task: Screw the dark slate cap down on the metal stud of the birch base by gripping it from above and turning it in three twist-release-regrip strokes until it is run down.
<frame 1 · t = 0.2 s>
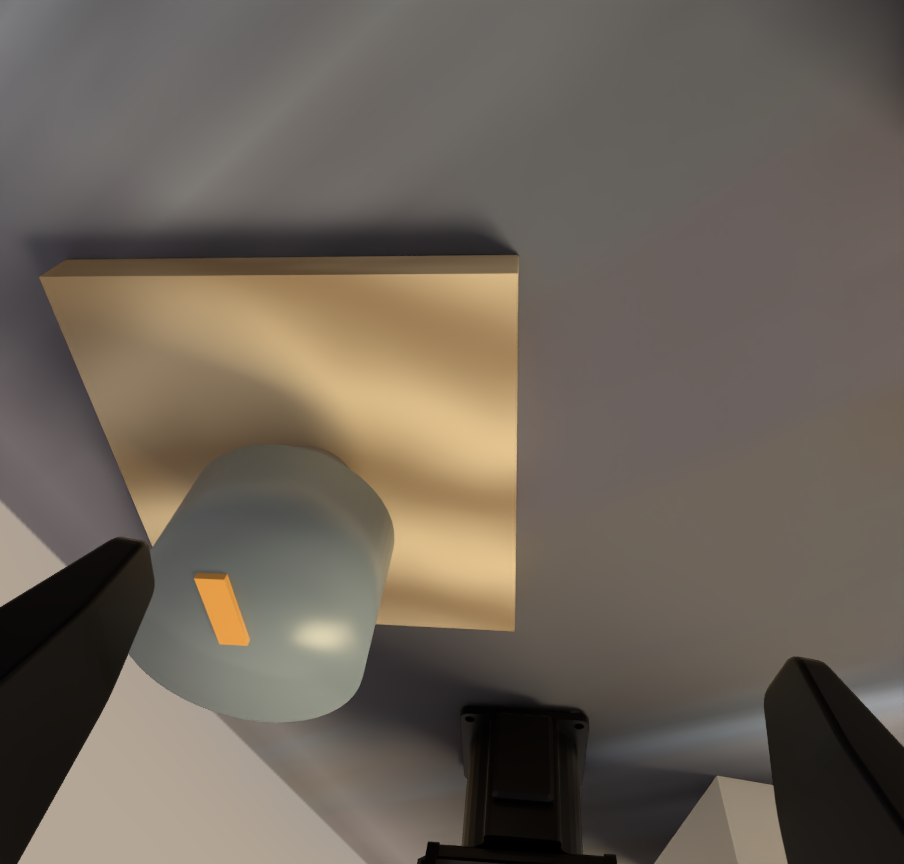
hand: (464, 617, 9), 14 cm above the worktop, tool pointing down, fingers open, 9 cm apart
cap: (268, 585, 21), point 7 cm above the worktop, hinge at 0.0°
milk: (775, 839, 40), on the worktop
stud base: (323, 456, 26), on the worktop
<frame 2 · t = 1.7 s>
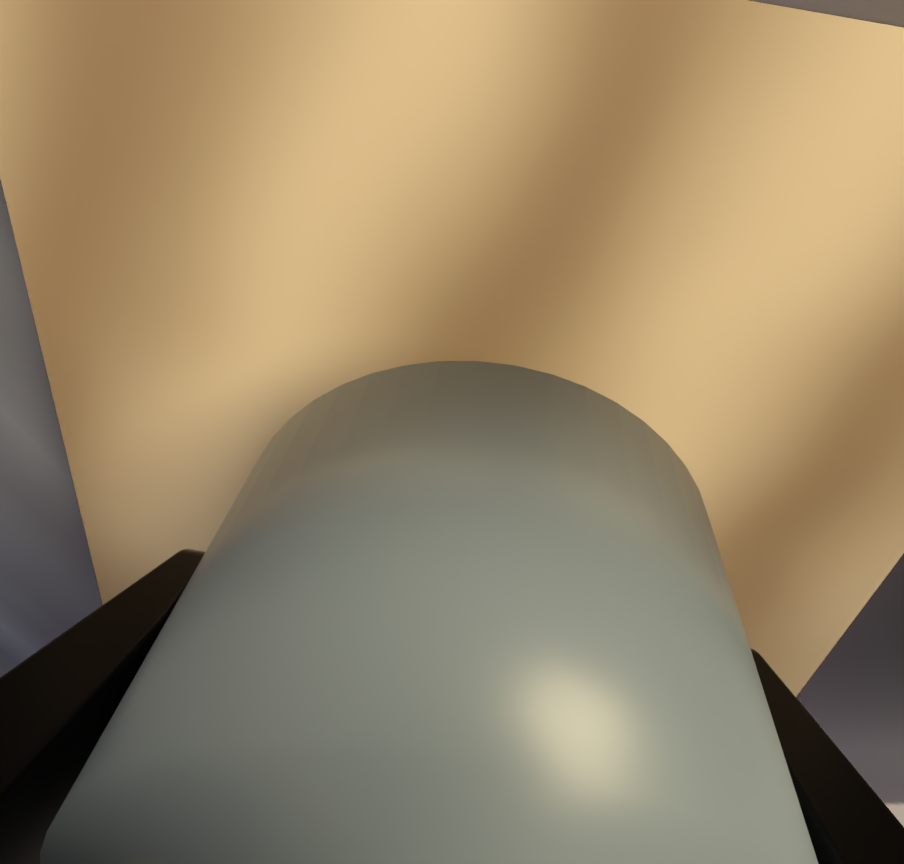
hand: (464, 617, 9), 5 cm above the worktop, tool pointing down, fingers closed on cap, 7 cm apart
cap: (452, 720, 8), point 7 cm above the worktop, hinge at 0.1°, touching gripper
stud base: (486, 419, 13), on the worktop
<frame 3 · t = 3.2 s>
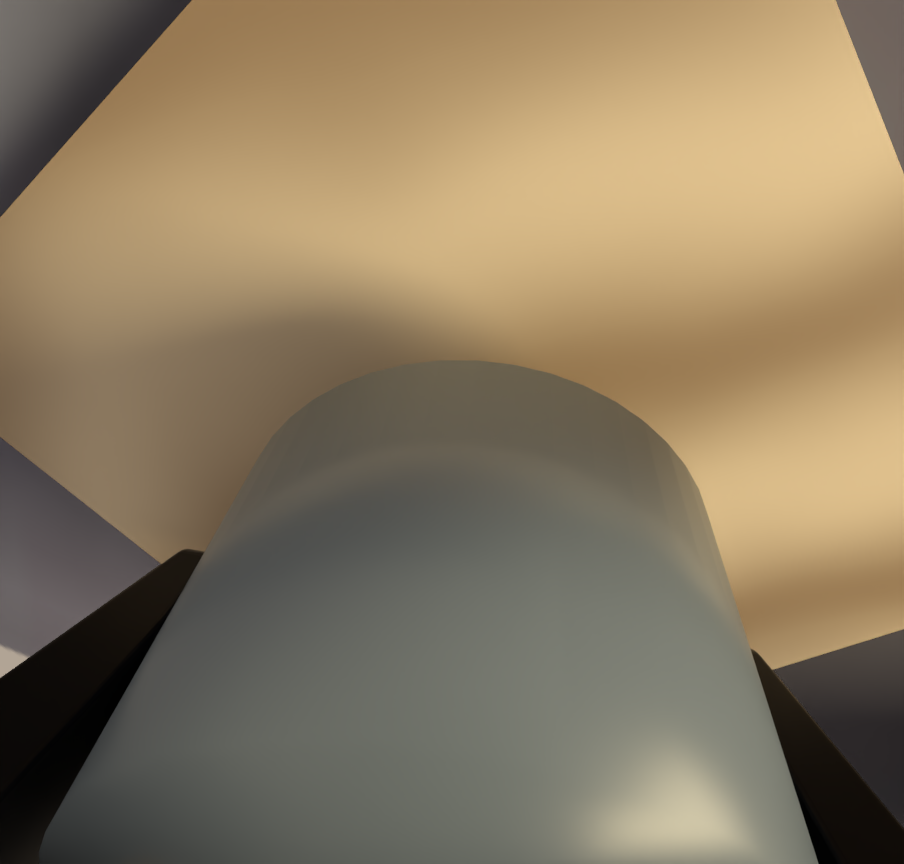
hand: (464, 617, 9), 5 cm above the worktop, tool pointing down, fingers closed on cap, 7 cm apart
cap: (452, 720, 8), point 7 cm above the worktop, hinge at 44.6°, touching gripper
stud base: (485, 419, 13), on the worktop
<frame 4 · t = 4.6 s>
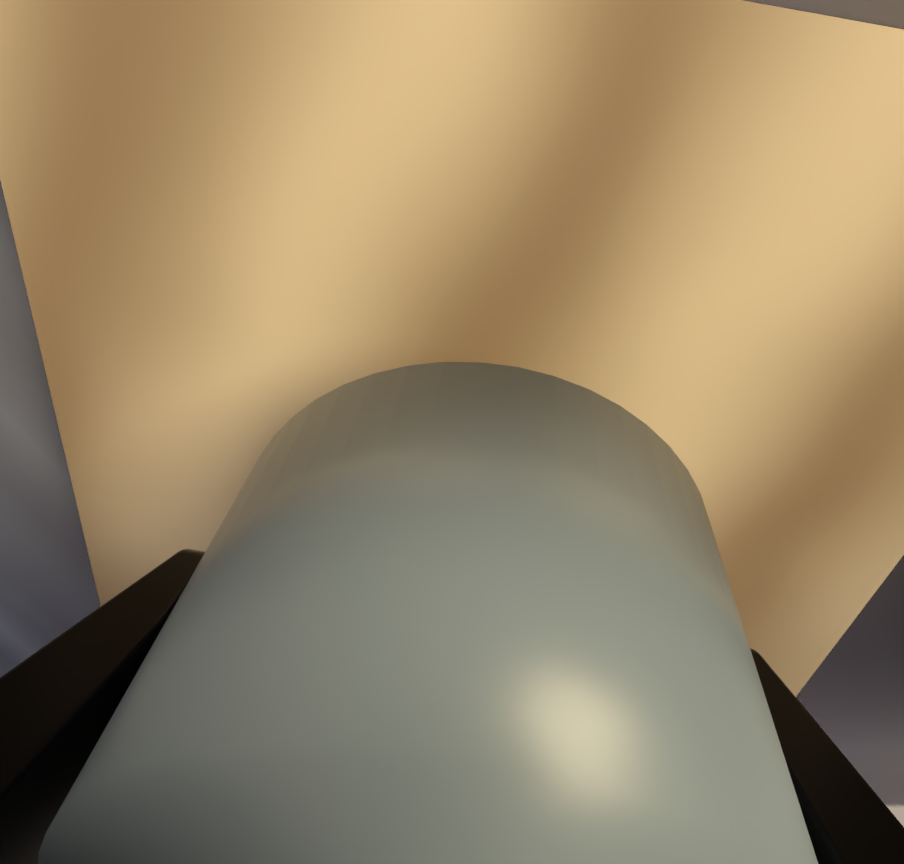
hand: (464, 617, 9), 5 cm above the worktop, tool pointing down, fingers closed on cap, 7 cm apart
cap: (452, 722, 8), point 7 cm above the worktop, hinge at 44.5°, touching gripper
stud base: (485, 420, 13), on the worktop
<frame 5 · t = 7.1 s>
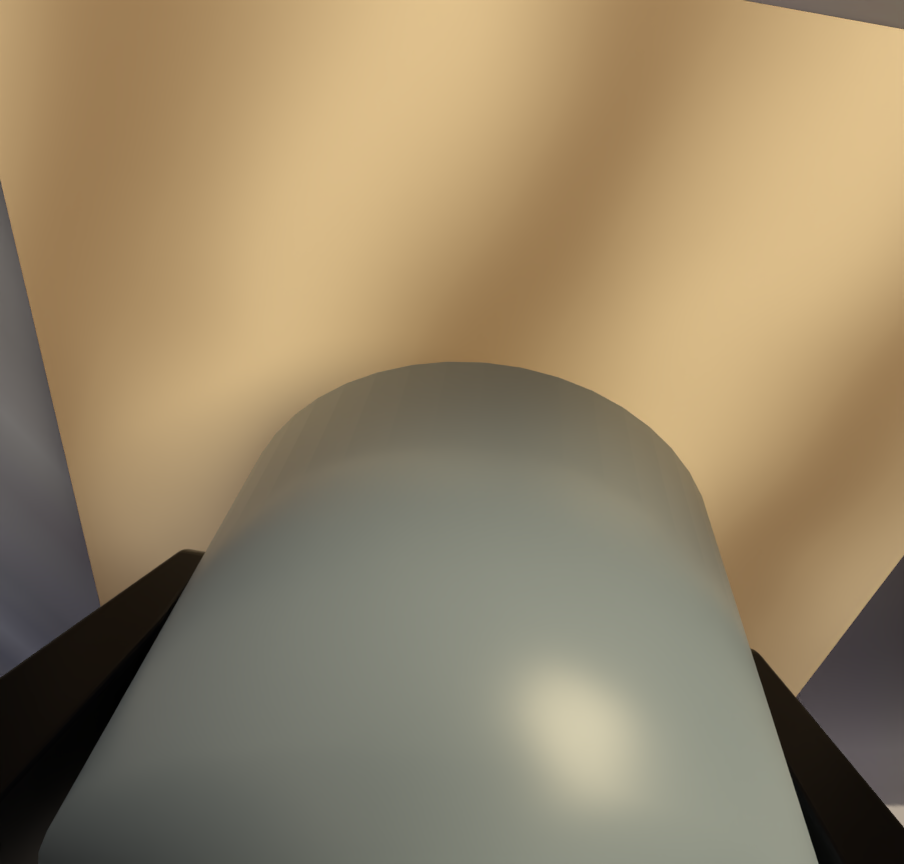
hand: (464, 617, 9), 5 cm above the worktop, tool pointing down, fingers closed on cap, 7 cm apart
cap: (452, 722, 8), point 7 cm above the worktop, hinge at 88.8°, touching gripper
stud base: (485, 420, 13), on the worktop
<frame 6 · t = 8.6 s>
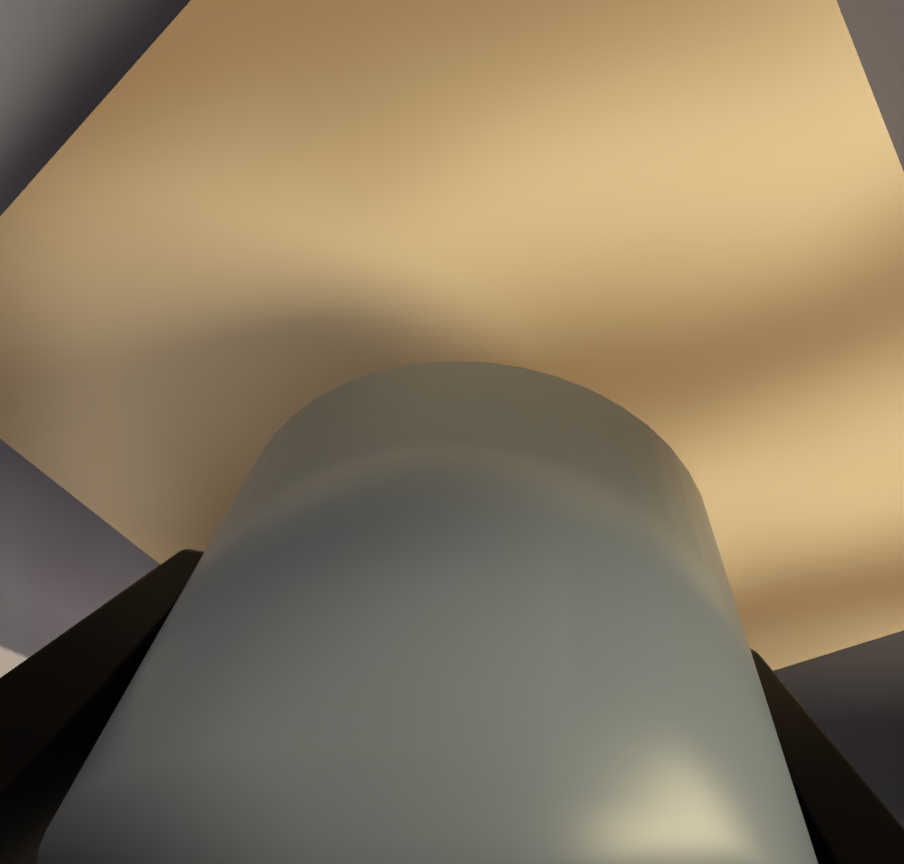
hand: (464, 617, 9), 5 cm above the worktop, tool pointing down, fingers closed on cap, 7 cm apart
cap: (452, 722, 8), point 7 cm above the worktop, hinge at 133.1°, touching gripper
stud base: (485, 420, 13), on the worktop
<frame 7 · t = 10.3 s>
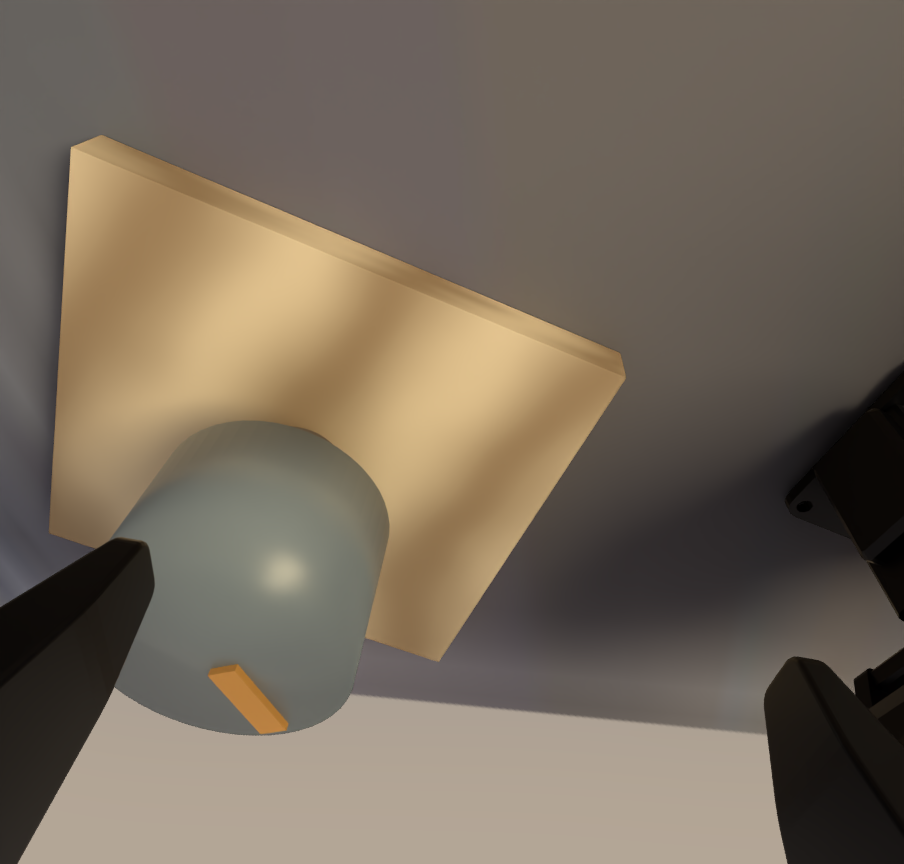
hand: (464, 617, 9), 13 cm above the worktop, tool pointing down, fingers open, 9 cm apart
cap: (246, 580, 18), point 7 cm above the worktop, hinge at 133.1°
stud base: (310, 439, 24), on the worktop
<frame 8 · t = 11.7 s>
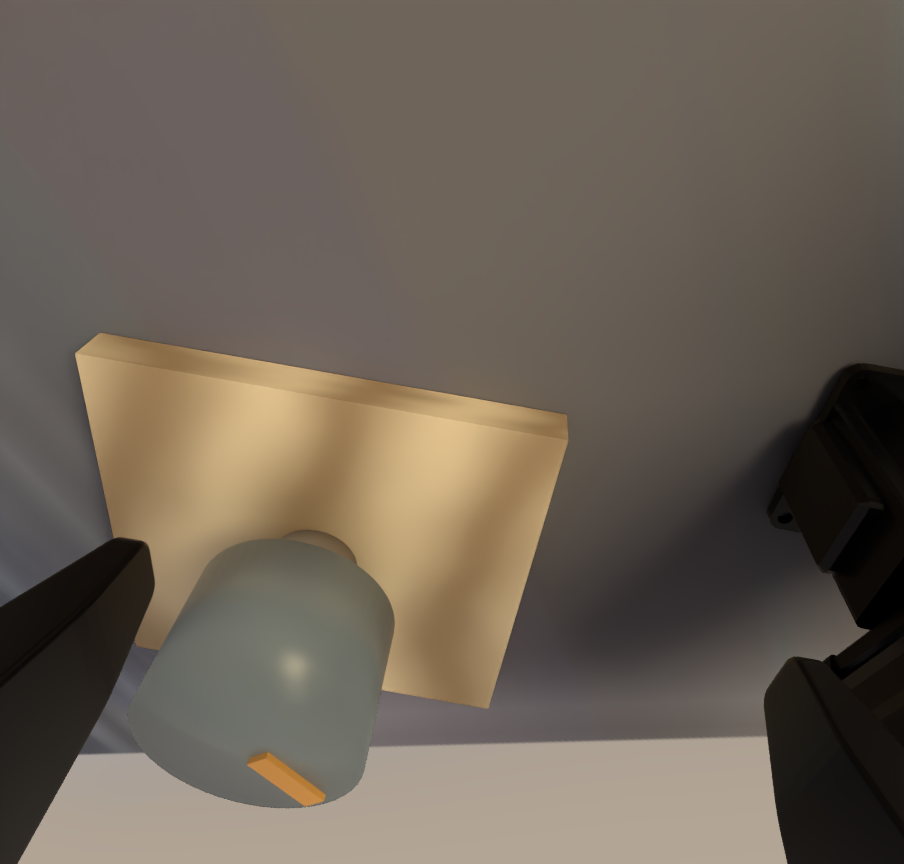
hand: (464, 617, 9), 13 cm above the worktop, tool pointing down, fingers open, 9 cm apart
cap: (273, 675, 21), point 7 cm above the worktop, hinge at 133.1°
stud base: (325, 533, 27), on the worktop
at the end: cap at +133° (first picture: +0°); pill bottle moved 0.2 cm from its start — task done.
